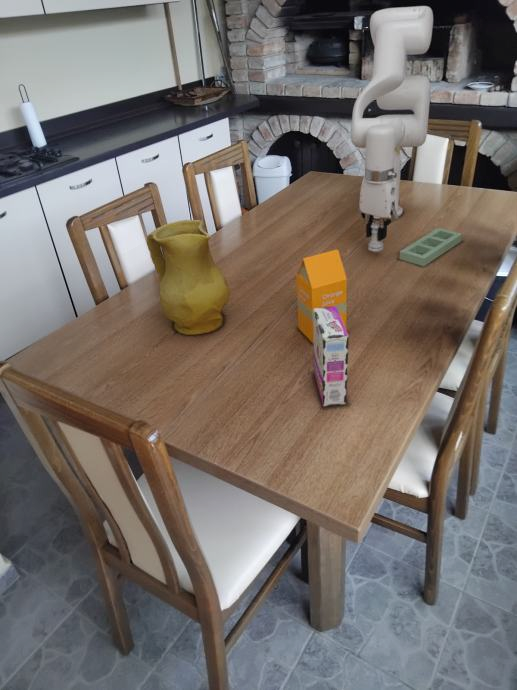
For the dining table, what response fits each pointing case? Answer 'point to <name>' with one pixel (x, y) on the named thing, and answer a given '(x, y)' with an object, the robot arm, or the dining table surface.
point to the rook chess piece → (375, 239)
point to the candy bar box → (330, 355)
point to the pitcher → (188, 277)
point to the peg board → (430, 246)
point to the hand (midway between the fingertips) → (375, 237)
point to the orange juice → (320, 288)
